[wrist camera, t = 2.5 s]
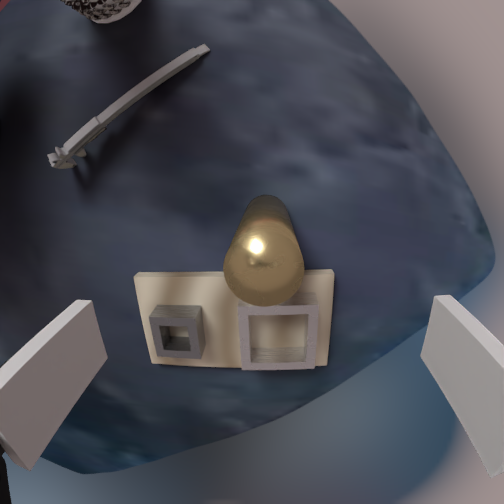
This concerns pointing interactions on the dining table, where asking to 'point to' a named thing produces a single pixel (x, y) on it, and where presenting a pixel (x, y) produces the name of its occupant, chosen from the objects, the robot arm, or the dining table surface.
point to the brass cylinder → (264, 255)
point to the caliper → (119, 109)
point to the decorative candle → (103, 9)
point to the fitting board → (234, 322)
